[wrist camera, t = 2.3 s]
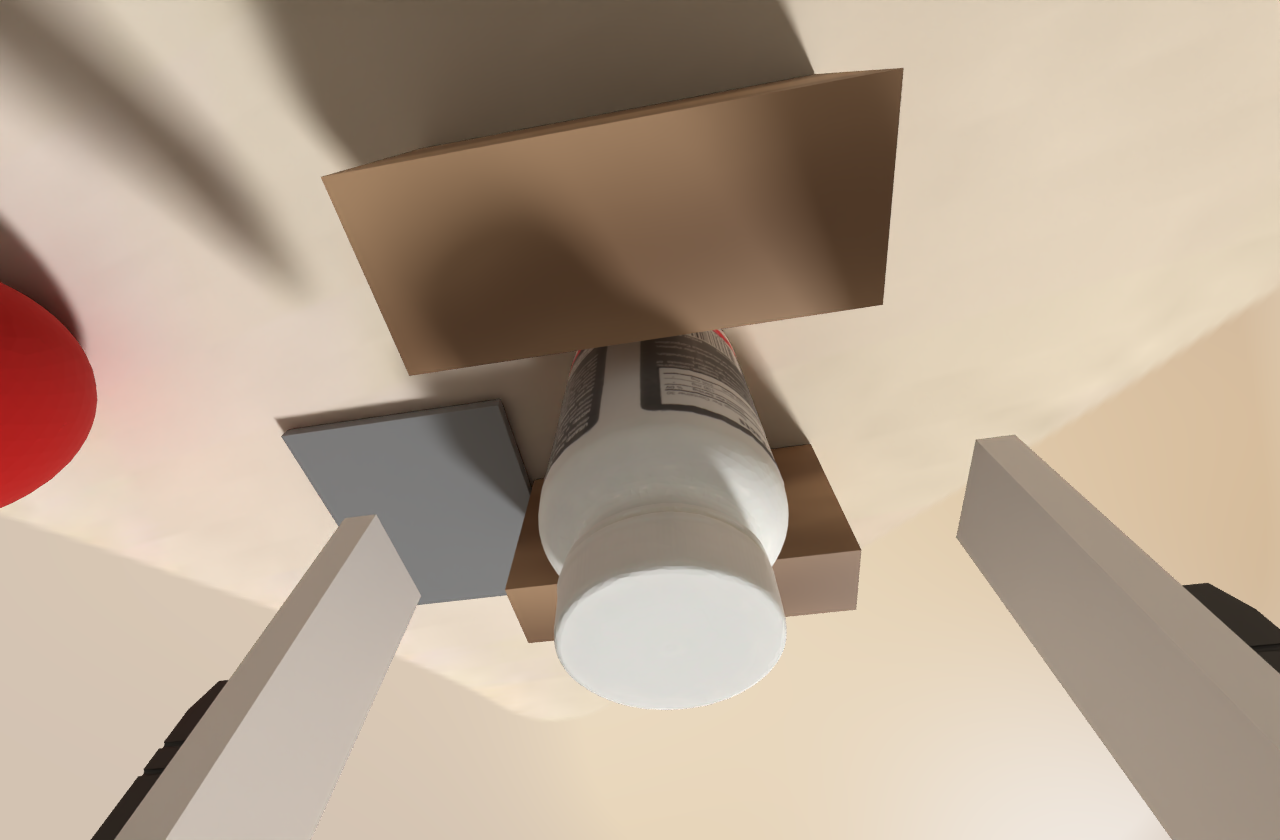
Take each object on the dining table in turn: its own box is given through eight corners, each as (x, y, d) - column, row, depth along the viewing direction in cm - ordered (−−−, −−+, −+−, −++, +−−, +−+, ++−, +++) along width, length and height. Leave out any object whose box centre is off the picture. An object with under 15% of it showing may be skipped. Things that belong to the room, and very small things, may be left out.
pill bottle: (617, 464, 19) (601, 755, 11) (540, 340, 16) (439, 597, 8) (760, 409, 18) (865, 691, 10) (701, 265, 15) (774, 480, 7)
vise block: (420, 148, 14) (320, 176, 9) (815, 74, 13) (903, 68, 8) (551, 529, 21) (528, 642, 16) (809, 497, 20) (856, 609, 16)
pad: (288, 429, 18) (281, 436, 18) (500, 399, 18) (497, 405, 17) (394, 600, 23) (390, 608, 23) (564, 581, 22) (563, 588, 22)
